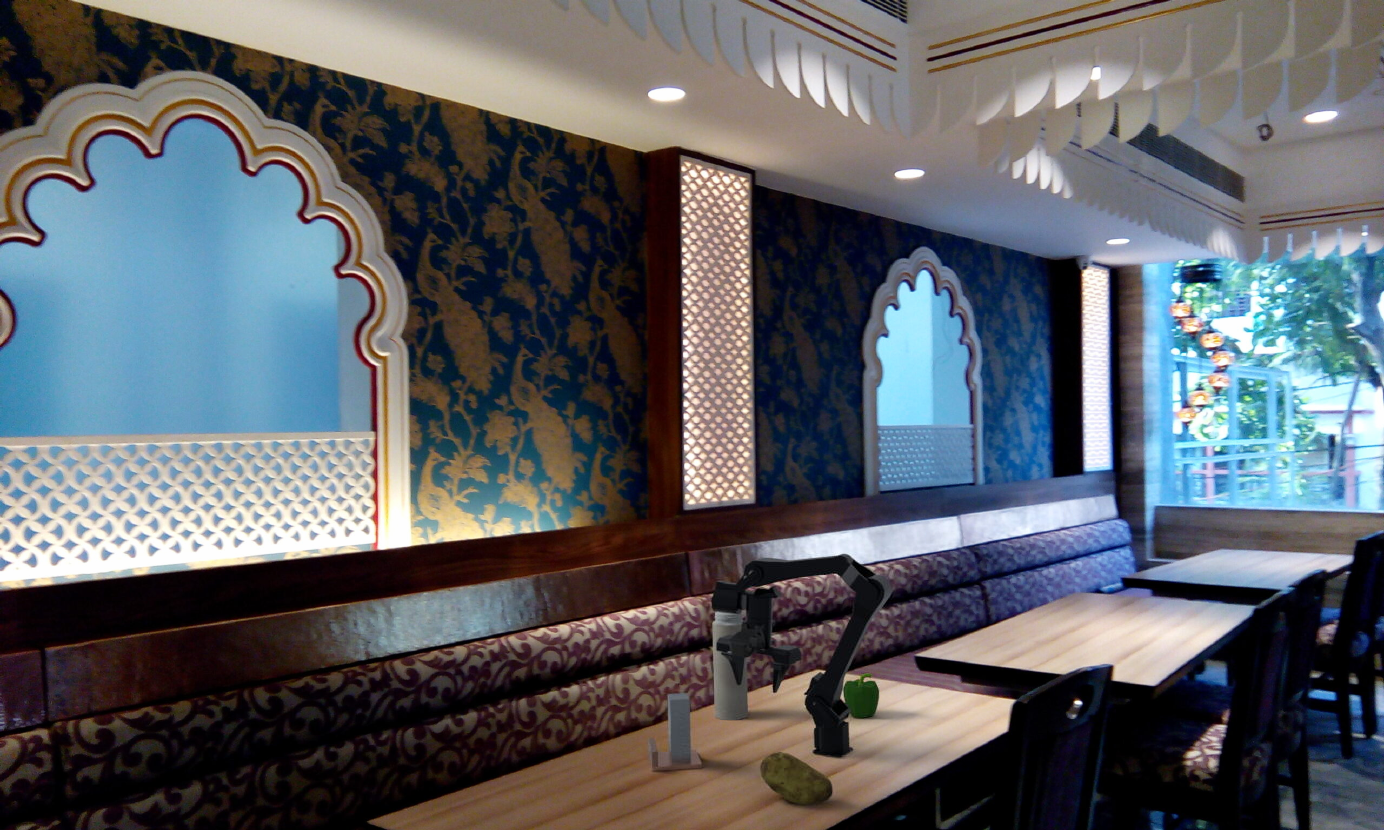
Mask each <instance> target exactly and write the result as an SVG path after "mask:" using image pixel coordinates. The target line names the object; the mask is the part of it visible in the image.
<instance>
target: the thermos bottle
mask: <svg viewBox="0 0 1384 830" xmlns="http://www.w3.org/2000/svg"><path fill="white" fill-rule="evenodd" d="M743 616H744V614H743V611H742V612H741V613H740V614H731V613H723V612H715V613H714V619H715V620H713V622H712V653H713V654H712V656H713V657H712V659H713V661H712V662H713V692H714V693H713V695H714V698H713V699H714V717H715V718H717V719H719V720H725V721H735V720H742V718H743V719H745V718H747V717H748V716H749V700H748V663H747V659H748V657H746V658H745V660H744V669H743V678H742V683H741V685H737V683H736V680H735V677H734V673H733V670H732V667H731V665H730V662H729V660H728V659H727V658H726V657H725V656H723V655H721V651H716V642H717V640H718V639H719V638H720V637H723V636H727V635H735V634H736V633H737V632H740V631H741V627H742V622H743V621H745V620H743V618H744V617H743Z"/></svg>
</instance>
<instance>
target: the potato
mask: <svg viewBox="0 0 1384 830" xmlns="http://www.w3.org/2000/svg"><path fill="white" fill-rule="evenodd" d="M759 770H760V774H761V775H760V776H761V778H762V779H763V781H764V783H765V785H767V786H768V787H769V788H770V790H772V792H775V793H776V794H779V795H781V797H782V798H784V799H785V800H786V801H788V802H791V803H792V804H793V803H794V804H796V805H797V804H799V805H815V804H822V803H824V802H826V801H828V800H829V799H830V798H831V797H832V796H833V783H832V781H831V780H830V778H828V777H827V776H826V775H824V774H823V773H822V772H821V771H818V770H817V769H815V768H813V767H812V766H810V765H809V764H808V763H806V762H805V761H803V760H800V759H799V758H798V757H796V756H794V755H793V754H790V753H787V752H781V751H779V752H773V753H771V754H769V755H767V756H766V757H765V758H764V759H762V761H761V762H760V767H759Z"/></svg>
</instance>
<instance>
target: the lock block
mask: <svg viewBox="0 0 1384 830" xmlns="http://www.w3.org/2000/svg"><path fill="white" fill-rule="evenodd" d="M690 707H691V703H690V697H689V694H688V693H687V692H683V693H681V692H680V693H668V694H667V717H668V718H667V720H668V721H667V722H668V723H667V724H668V725H667V727H668V728H667V729H668V730H667V732H668V751H669V756H670V759H671V762H681V761H691V750H692V749H691V748H692V746H691V744H692V743H691V708H690Z"/></svg>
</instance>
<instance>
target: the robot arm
mask: <svg viewBox="0 0 1384 830" xmlns="http://www.w3.org/2000/svg"><path fill="white" fill-rule="evenodd" d="M829 575H837V576H838V577H840V578H841V579H842V581H843V582H844V583H845V584H846V585H847V586H848V587H849V588H850V589H851V590H852V591H853V592H854V593H855V595H854V600H853V605H852V613H851V616H850V618H849V621H848V623H847V625H846V626H845V629H844V631H843V633H842V635H841V637H840V638H839V639H840V640H839V641H838V644H837V645H836V648H835V649H834V652H833V654H832V656H831V658H830V660H829V663H828V665H827V667H826V668H825V671H824V672H821V671H819V672H818V673H816V674H815V675H814V676H813V677H811V679H810V682H809V685H808V688H807V689H806V691H805V692H804V693H803V695H804V696H805V699H804V705H805V709H806V710H807V712H808V713H809V714H810V715H811V717H812V720H813V723H814V725H815V727H814V729H813V748H814V749H813V750H812V754H814V755H815V754H816V755H822V756H827V757H833V758H842V757H844V756H845V755H847V754H849V753H850V752H852V751H854V748H853V747H851V746H850V724H849V721H846V720H847V719H849V716H850V715H851V714H850V711H851V709H850V708H849V707H848V706H847V705H846V704H845V700H843V699H842V695H843V694H842V693H843V688H844V684H845V683H844V681H845V677H846V674H847V672H848V670H849V668H850V666H851V664H852V663H853V659H854V658H855V656H856V654H857V651H858V650H859V647H860V644H861V642H862V641H863V639H864V637H865V634H866V632H867V631H868V628H869V626H870V625H871V622H872V620H873V619H874V618H875V616H876V615H877V614H878V613H879V612H880V610H881V609H882V608H883V606H884V605H885V604H886V602H887V601H888V599H890V597H891V595H892V592H893V587H892V585H891V582H890V581H889V579H888V578H887V577H885V576H884V575H881V574H876V573H875V572H874V571H872V570H871V569H870V568H868V567H867V566H865V565H863V564H862V563H860V562H858V561H857V560H856V559H855V558H853V557H852V555H850V554H847V553H840V554H838V555H829V556H828V555H827V556H820V557H808V558H799V559H782V558H775V557H761V558H757V559H754V560H752V561H748V563H747V564H746V565H745V567H744V569H743V575H742V576H741V577H740V579H739V580H738V581H737V582H729V581H725V580H718V581H716V583H715V588H714V590H713V593H712V597H711V599H710V604H711V609H712V611H713V612H715V613H716V612H723V613H731V614H740V613H741V612H742V613H743V611H745V620H744V621H743V622H742V627H741V631H740V632H737V633H736V634H735V635H727V636H723V637H720V638H719V639H718V640H717V642H716V651H721V655H723V656H725V657H726V658H727V659H728V660H729V662H730V665H731V667H732V670H733V673H734V677H735V680H736V683H737V685H741V683H742V678H743V669H744V660H745V658H746V657H747V658H749V657H751V656H752V655H753V653H755V654H759V655H765V656H769V657H771V659H772V660H773V662H771V663H770V665H771V667H772V686H771V687H772V693H773V694H776V693H777V692H778V690H779V689H780V686H781V684H782V682H783V681H784V678H785V675H786V674H787V673H788V670H789V668H790V667H791V665H792V666H793V665H795V664H796V663H797V662H799V661H801V660H802V650H801V649H800V647H799V646H796V645H789V644H783V645H779V646H775V641H776V640H775V639H772V638H773V636H772V634H773V632H772V631H773V627H775V626H776V621H775V620H773V610H774V609H773V604H774V603H773V601H774V600H775V599H778V598H781V597H783V592H781V591H780V590H779V589H778V587H777V586H776V585H773V586H771V587H770V588H765V587H764V586H768V585H771V584H774V583H777V582H781V581H784V580H787V579H795V578H799V579H800V578H806V577H807V578H808V577H817V576H829ZM751 588H756V589H755V590H748V589H751ZM773 599H774V600H773ZM773 646H775V647H773Z"/></svg>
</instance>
